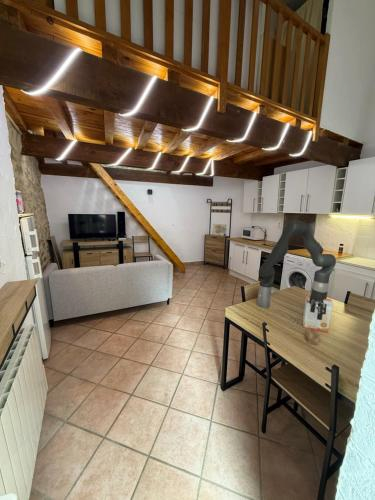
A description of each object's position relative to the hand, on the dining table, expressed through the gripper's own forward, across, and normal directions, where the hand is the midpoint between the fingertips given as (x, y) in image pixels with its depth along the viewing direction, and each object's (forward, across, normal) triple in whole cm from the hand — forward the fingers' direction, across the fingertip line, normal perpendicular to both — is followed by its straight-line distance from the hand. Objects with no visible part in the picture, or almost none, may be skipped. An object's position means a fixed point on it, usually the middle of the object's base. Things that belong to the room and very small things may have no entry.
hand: (315, 315), depth 115 cm
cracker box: (+17, -17, +9) cm, 26 cm away
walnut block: (+17, 0, 0) cm, 17 cm away
